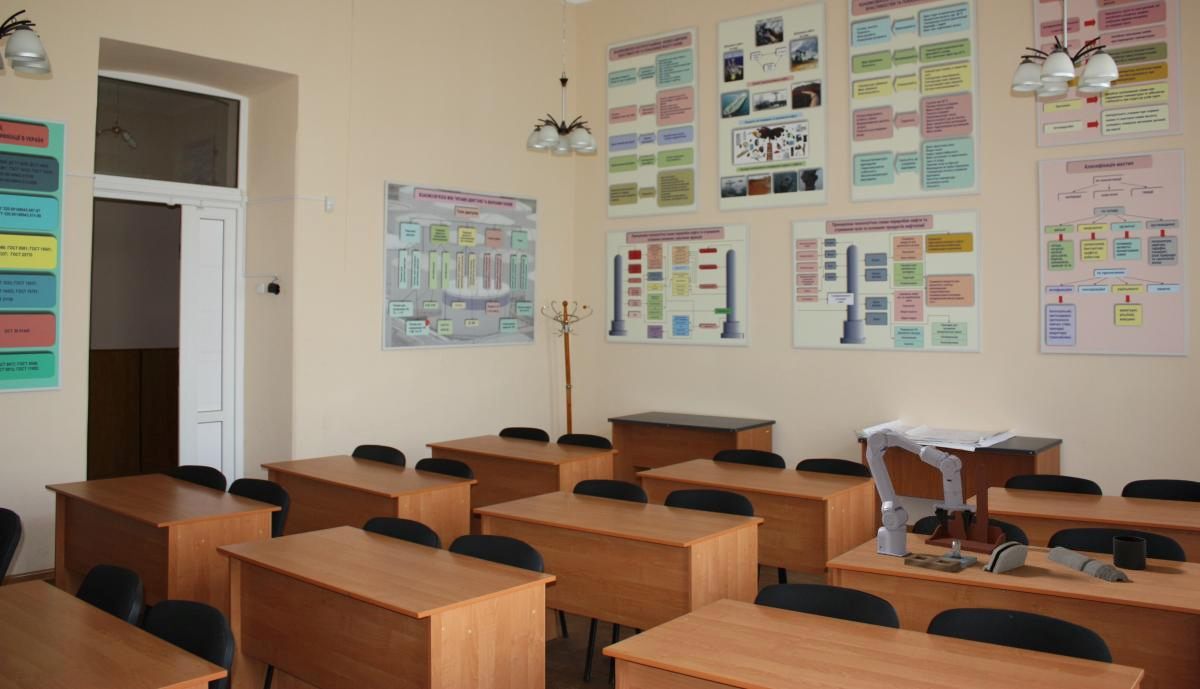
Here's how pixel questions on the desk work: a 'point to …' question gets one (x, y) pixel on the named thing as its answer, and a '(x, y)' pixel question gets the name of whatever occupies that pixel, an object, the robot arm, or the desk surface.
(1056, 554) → the grey elongated piece
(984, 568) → the grey arched plastic casing
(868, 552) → the desk surface
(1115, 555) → the mug
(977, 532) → the hanging shelf
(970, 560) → the socket block
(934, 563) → the rack
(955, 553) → the peg
